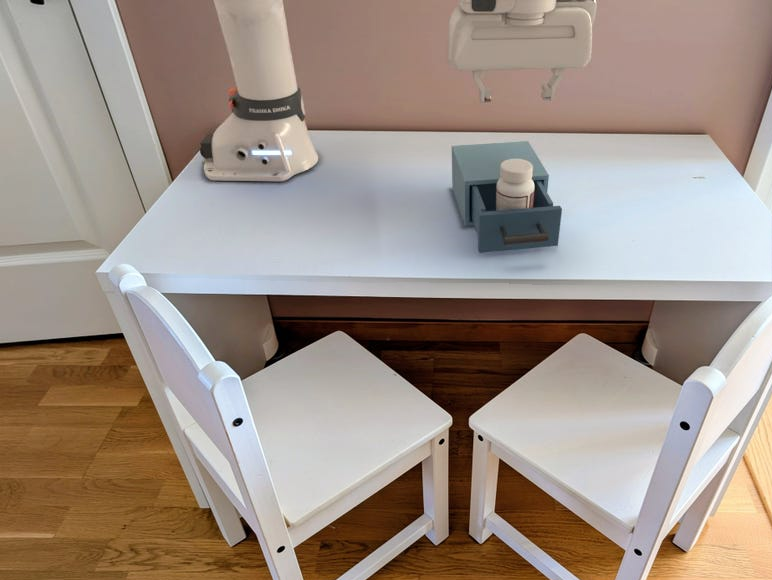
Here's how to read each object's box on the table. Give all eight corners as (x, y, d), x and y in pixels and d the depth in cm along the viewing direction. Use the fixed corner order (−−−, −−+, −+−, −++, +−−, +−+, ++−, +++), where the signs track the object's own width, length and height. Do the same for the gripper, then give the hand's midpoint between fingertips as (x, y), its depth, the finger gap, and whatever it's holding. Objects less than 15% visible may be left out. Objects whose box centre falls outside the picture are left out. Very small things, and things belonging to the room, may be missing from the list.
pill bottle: (514, 216, 107) (518, 153, 99) (538, 230, 103) (544, 166, 96) (487, 227, 104) (489, 163, 96) (511, 242, 100) (515, 177, 93)
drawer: (565, 260, 98) (570, 223, 94) (484, 268, 96) (485, 230, 92) (537, 207, 111) (540, 172, 107) (465, 213, 109) (465, 177, 105)
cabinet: (544, 220, 110) (549, 175, 104) (465, 226, 108) (464, 181, 102) (525, 183, 120) (528, 140, 115) (452, 189, 118) (451, 145, 112)
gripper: (591, -14, 84) (577, 90, 93) (444, -13, 81) (445, 94, 90) (606, -4, 79) (590, 105, 89) (451, -3, 76) (451, 110, 86)
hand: (516, 100), depth 89 cm, fingers open, 8 cm apart
